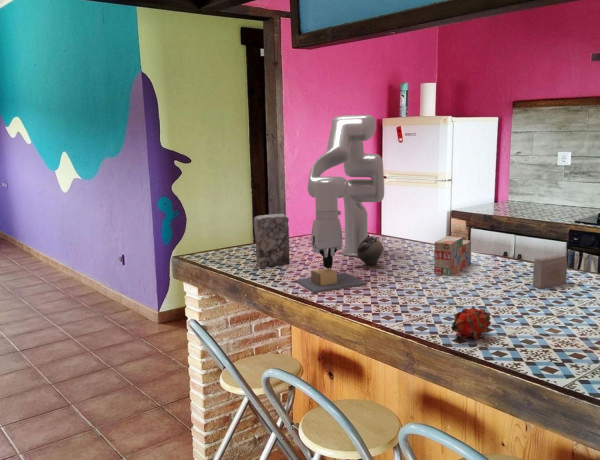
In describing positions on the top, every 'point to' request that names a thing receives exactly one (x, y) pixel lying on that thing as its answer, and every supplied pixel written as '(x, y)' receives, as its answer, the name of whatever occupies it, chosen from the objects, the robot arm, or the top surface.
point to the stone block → (271, 239)
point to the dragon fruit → (471, 323)
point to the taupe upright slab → (549, 272)
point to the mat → (342, 282)
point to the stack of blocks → (451, 255)
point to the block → (323, 276)
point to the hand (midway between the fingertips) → (327, 267)
